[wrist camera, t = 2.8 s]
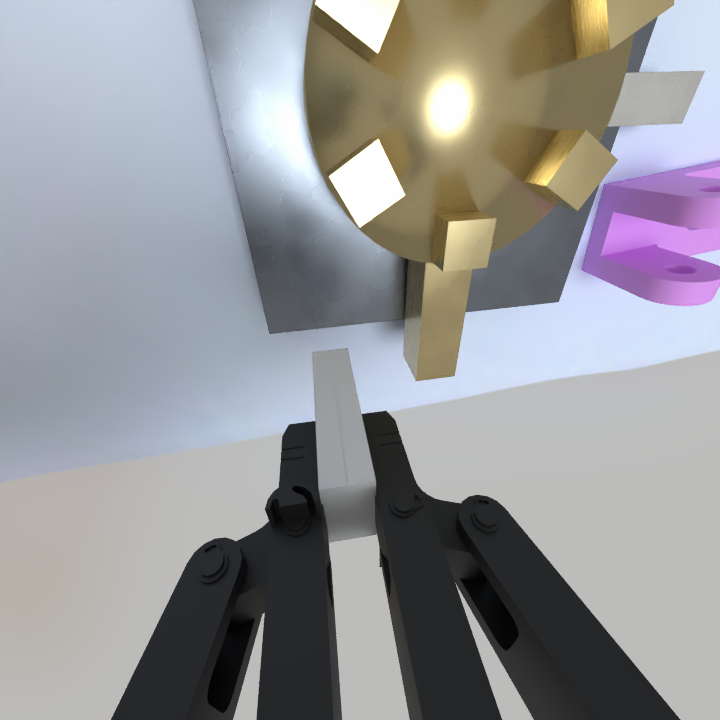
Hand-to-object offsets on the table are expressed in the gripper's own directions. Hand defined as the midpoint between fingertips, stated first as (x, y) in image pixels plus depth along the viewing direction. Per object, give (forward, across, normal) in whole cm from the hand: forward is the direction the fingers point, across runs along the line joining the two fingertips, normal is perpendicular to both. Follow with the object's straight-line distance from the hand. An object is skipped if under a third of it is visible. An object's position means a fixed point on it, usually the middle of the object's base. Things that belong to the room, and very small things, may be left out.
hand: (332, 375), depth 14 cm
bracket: (+9, +25, +4) cm, 27 cm away
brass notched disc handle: (+6, +6, +6) cm, 10 cm away
